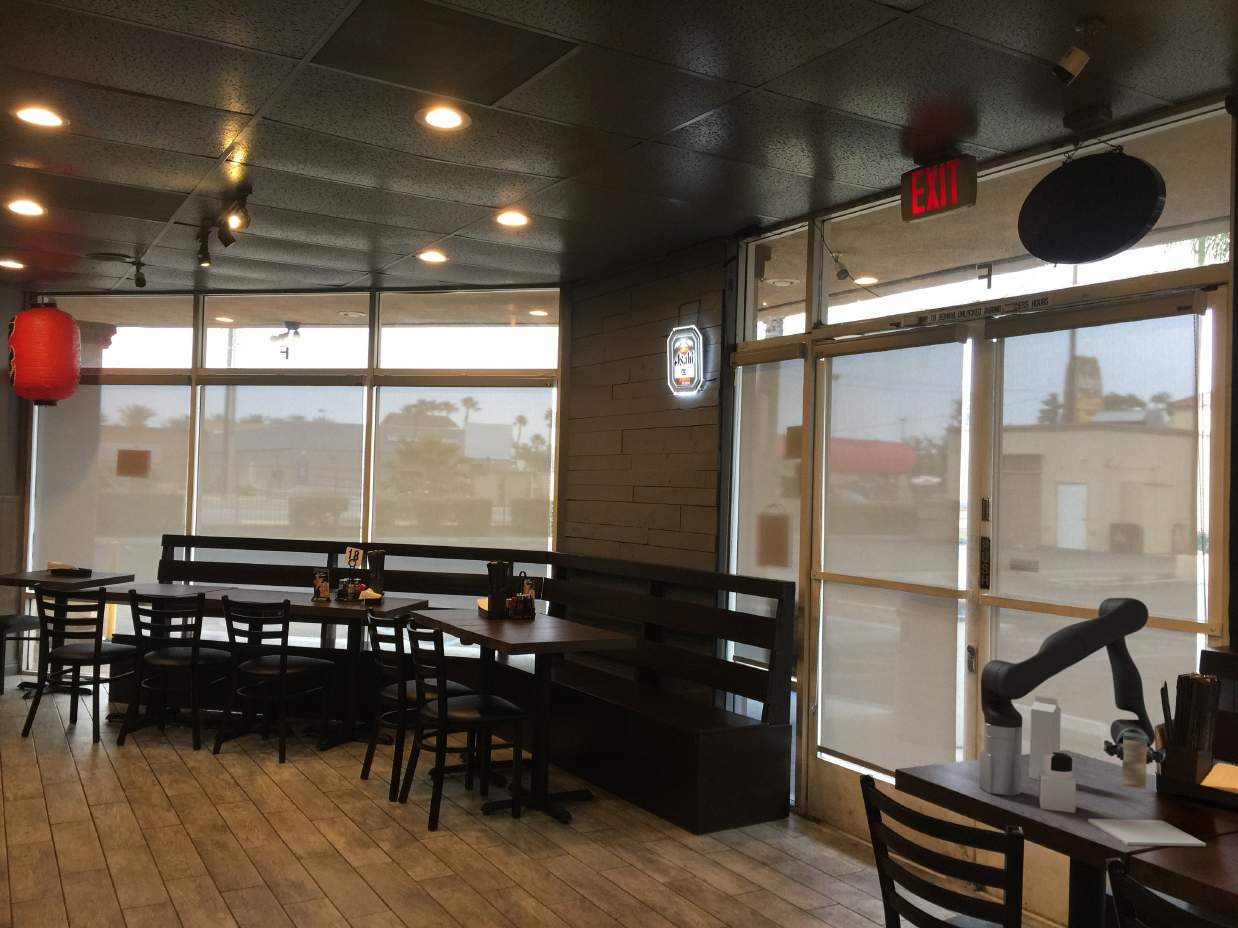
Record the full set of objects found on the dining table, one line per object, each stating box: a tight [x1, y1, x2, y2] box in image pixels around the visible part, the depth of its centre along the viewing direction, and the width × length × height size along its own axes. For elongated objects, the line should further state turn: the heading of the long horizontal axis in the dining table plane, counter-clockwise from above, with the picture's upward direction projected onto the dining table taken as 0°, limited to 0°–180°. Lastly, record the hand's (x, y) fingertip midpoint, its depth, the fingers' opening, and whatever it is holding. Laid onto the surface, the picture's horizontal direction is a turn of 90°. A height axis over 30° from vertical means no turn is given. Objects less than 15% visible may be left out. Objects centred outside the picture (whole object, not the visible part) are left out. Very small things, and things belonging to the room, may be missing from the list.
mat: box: [1087, 818, 1207, 847], centre depth 228 cm, size 18×16×1 cm
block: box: [1121, 732, 1147, 790], centre depth 241 cm, size 5×5×12 cm
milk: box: [1028, 695, 1062, 781], centre depth 273 cm, size 6×6×22 cm
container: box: [1038, 752, 1077, 814], centre depth 246 cm, size 8×8×13 cm
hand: (1135, 757), depth 239 cm, fingers closed on block, 5 cm apart
